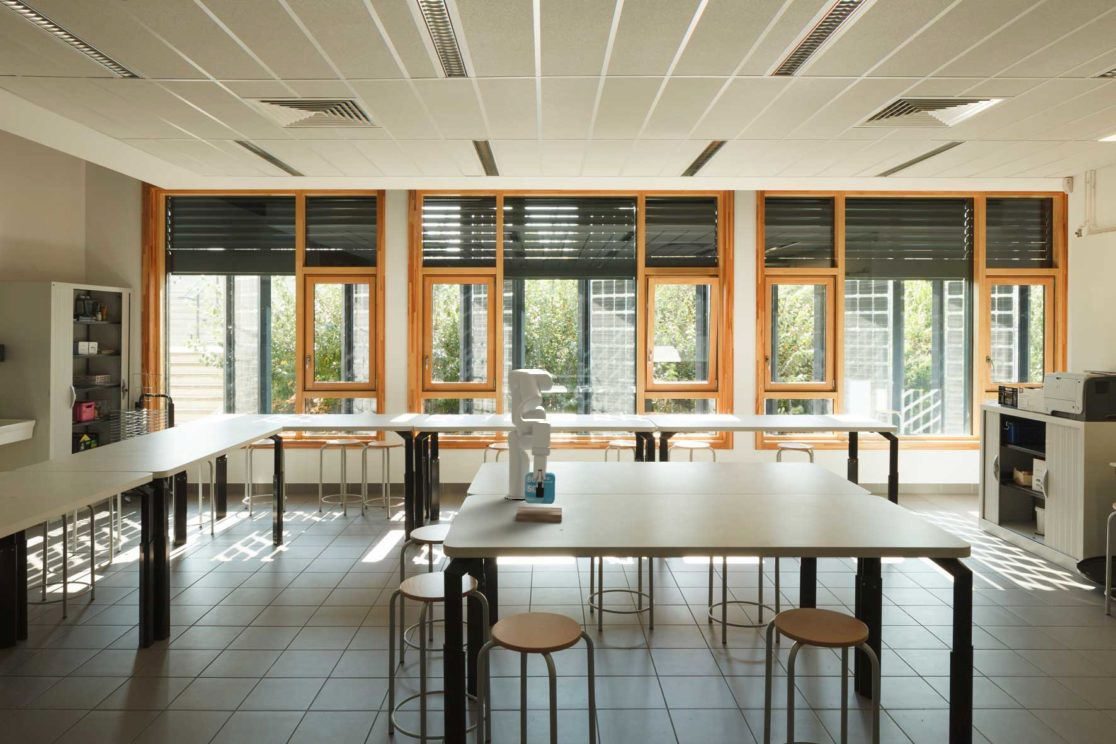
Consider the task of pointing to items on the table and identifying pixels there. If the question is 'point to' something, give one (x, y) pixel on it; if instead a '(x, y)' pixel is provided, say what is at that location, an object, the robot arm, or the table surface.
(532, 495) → the data package
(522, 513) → the base plate
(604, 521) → the table surface
